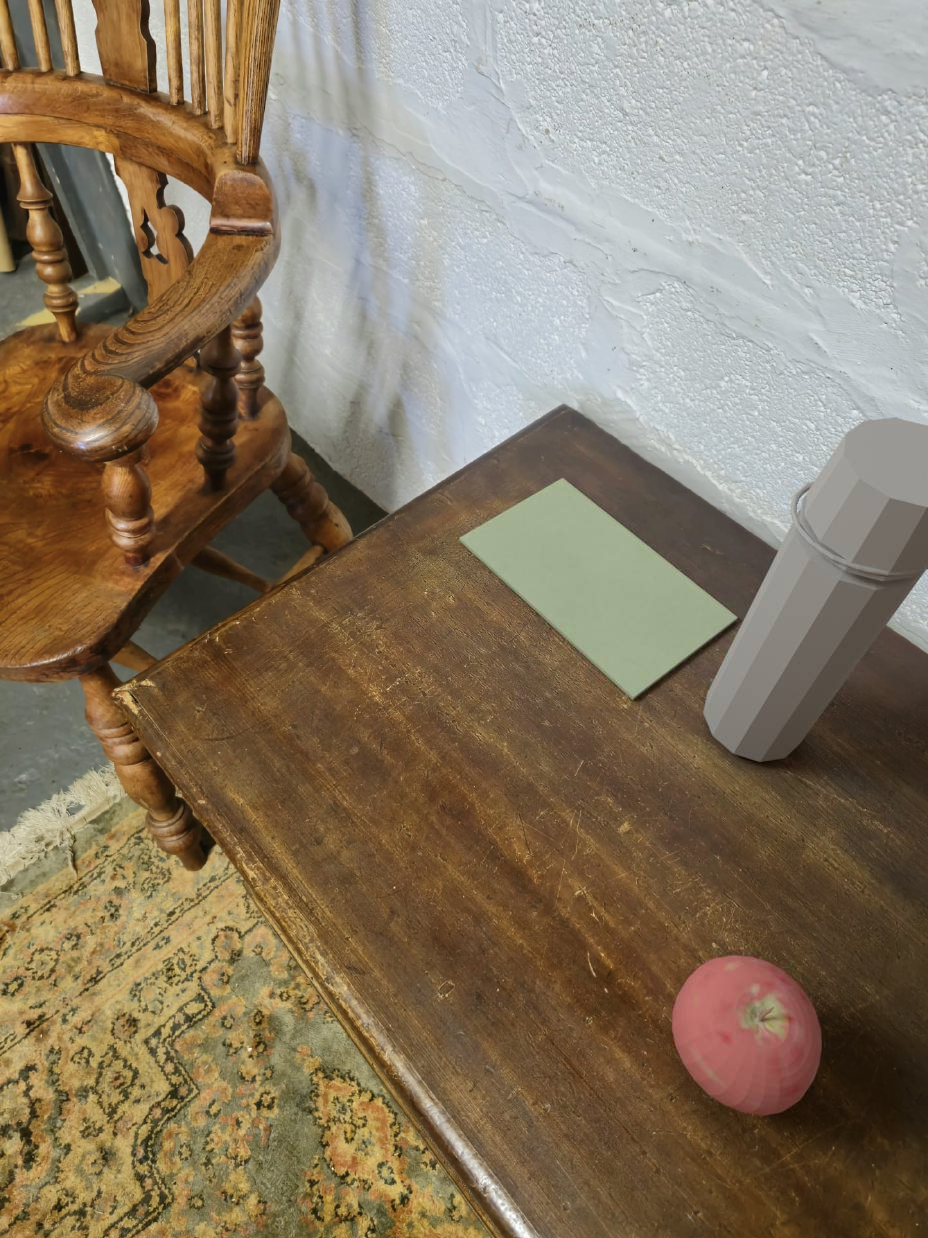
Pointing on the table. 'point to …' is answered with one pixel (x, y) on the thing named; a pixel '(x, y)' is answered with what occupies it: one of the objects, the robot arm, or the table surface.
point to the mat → (599, 585)
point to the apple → (747, 1034)
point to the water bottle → (826, 590)
